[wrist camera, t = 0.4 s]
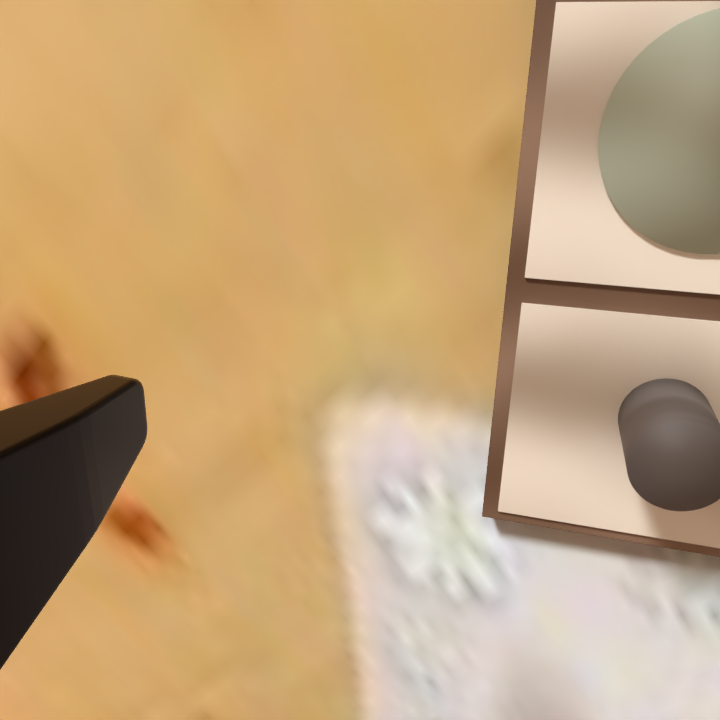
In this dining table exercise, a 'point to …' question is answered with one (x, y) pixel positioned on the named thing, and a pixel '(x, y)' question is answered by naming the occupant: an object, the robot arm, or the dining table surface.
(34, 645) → the dining table surface
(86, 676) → the dining table surface
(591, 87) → the board
